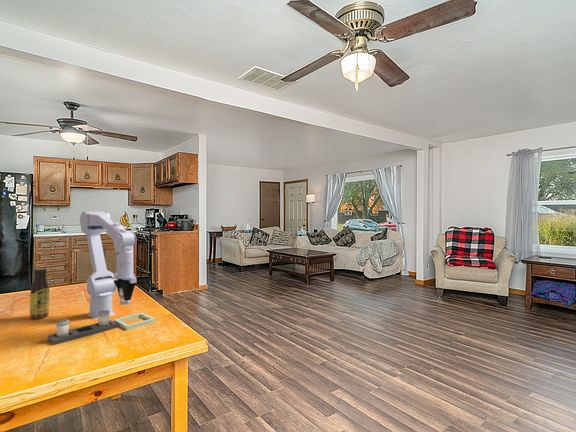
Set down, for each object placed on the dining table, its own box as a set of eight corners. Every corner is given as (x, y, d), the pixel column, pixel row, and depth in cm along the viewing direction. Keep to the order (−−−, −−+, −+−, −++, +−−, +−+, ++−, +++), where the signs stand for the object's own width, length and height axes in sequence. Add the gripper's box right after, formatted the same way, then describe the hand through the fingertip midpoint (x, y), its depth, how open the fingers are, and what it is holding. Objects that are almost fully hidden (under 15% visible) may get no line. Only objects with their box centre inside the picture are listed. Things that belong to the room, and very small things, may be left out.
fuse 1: (54, 338, 109) (54, 321, 109) (67, 335, 112) (67, 318, 112) (58, 341, 107) (58, 324, 107) (70, 338, 110) (70, 321, 109)
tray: (113, 324, 124) (113, 319, 124) (141, 317, 133) (141, 312, 133) (126, 331, 117) (126, 326, 117) (155, 323, 126) (155, 318, 126)
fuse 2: (96, 328, 119) (96, 312, 119) (107, 325, 122) (107, 309, 122) (100, 330, 117) (100, 314, 117) (111, 327, 120) (111, 311, 119)
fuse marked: (118, 303, 123) (118, 287, 122) (128, 301, 125) (127, 286, 125) (121, 305, 120) (121, 289, 120) (131, 303, 123) (131, 287, 123)
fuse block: (47, 340, 109) (47, 335, 109) (110, 324, 124) (110, 319, 124) (53, 346, 104) (53, 340, 104) (117, 329, 120) (117, 323, 120)
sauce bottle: (38, 320, 128) (37, 270, 128) (25, 319, 129) (25, 270, 129) (53, 314, 135) (53, 267, 134) (41, 313, 136) (40, 267, 135)
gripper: (106, 262, 124) (106, 297, 124) (122, 267, 115) (122, 305, 115) (125, 260, 129) (125, 293, 130) (142, 264, 120) (142, 300, 120)
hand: (125, 298), depth 123 cm, fingers closed on fuse marked, 4 cm apart
